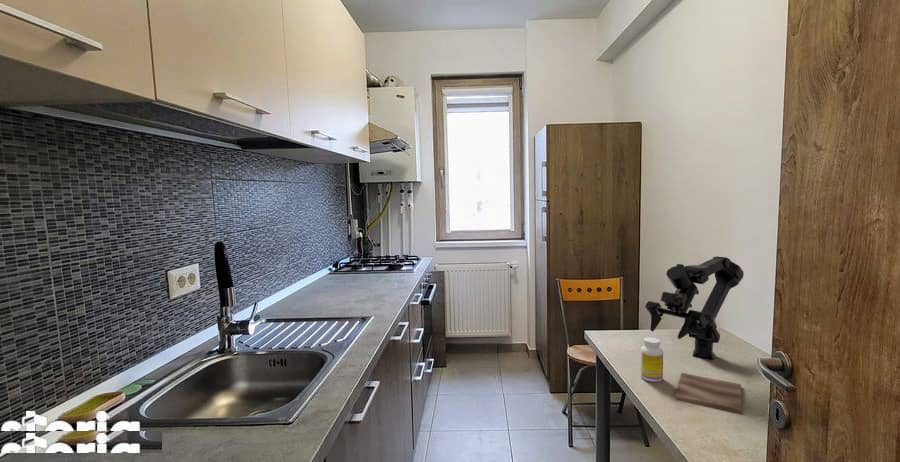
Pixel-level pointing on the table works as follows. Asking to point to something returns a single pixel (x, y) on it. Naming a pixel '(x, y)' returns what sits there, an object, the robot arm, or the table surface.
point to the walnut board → (710, 392)
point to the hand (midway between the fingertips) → (664, 334)
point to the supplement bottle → (651, 360)
